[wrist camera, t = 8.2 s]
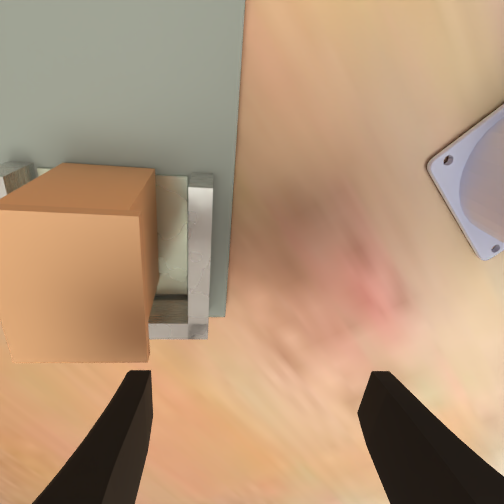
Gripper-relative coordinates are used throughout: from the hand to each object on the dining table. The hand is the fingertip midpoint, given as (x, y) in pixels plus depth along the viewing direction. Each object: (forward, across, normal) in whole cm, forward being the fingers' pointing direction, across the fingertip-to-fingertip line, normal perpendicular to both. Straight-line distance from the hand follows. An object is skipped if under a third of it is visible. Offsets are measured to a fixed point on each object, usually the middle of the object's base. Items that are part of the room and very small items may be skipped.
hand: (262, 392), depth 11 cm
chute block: (+8, +7, -2) cm, 11 cm away
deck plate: (+10, +6, -4) cm, 12 cm away
